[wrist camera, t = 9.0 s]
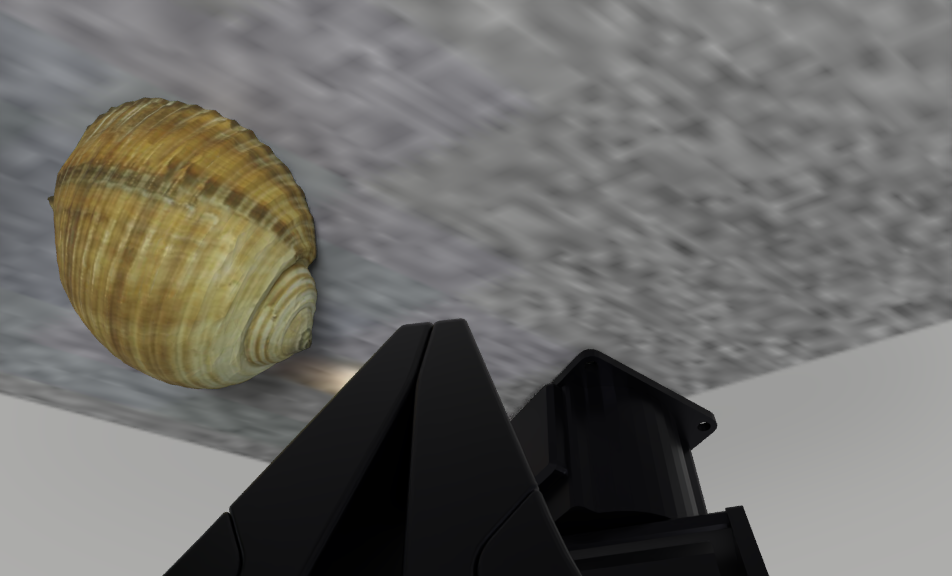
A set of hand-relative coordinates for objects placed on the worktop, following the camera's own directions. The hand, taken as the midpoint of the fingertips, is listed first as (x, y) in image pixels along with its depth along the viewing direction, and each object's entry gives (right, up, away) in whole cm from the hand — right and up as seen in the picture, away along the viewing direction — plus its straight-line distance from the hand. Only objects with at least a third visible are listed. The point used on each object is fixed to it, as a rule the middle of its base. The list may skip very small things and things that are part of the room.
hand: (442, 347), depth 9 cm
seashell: (-9, +3, +15) cm, 17 cm away
